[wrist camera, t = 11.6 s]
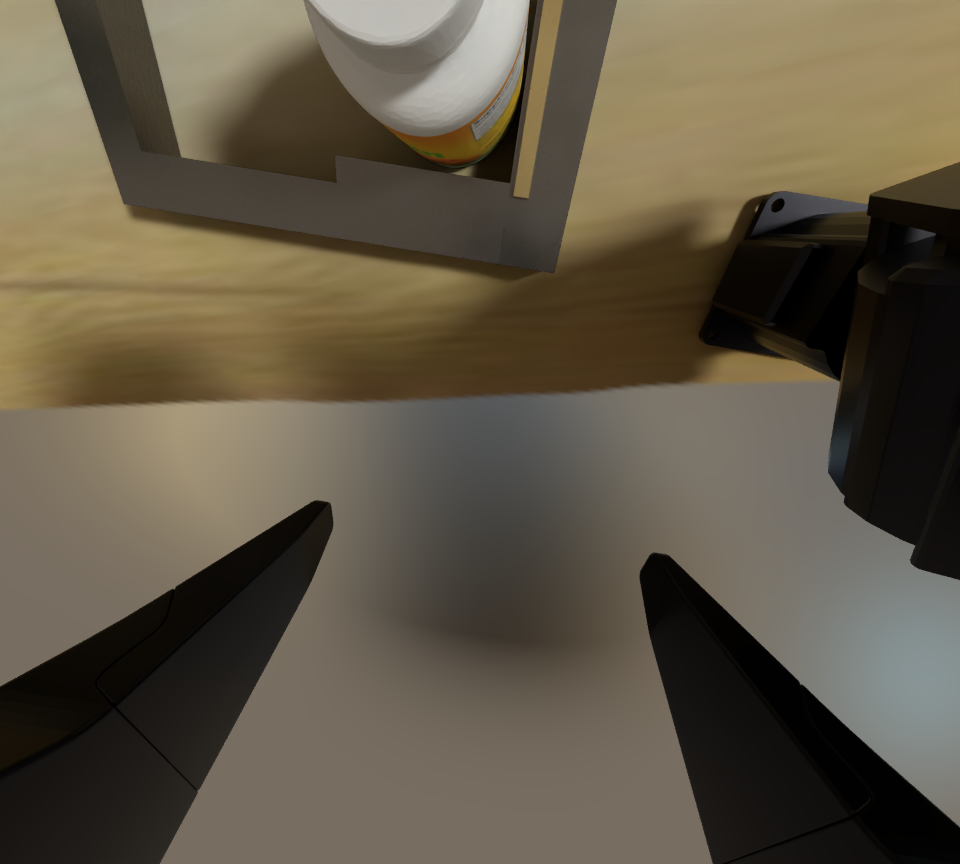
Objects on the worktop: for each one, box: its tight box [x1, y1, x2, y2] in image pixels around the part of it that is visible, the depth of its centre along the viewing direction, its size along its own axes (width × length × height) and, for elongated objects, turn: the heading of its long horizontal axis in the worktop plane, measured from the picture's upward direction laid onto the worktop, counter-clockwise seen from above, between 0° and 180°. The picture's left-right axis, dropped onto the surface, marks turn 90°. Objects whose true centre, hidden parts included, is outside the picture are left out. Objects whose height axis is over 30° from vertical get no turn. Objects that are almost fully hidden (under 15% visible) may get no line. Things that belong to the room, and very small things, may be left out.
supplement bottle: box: [304, 0, 530, 168], centre depth 9 cm, size 5×5×10 cm
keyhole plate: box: [55, 0, 617, 273], centre depth 13 cm, size 19×12×2 cm, turn 82°
